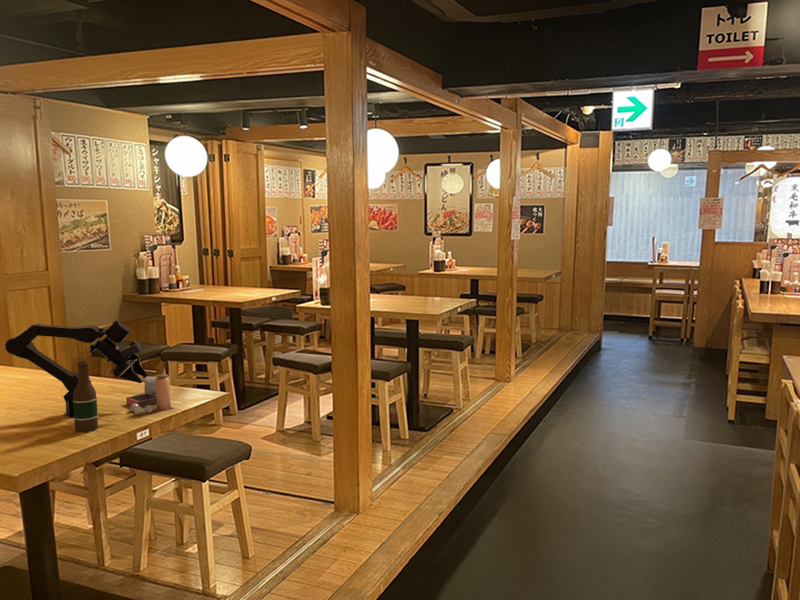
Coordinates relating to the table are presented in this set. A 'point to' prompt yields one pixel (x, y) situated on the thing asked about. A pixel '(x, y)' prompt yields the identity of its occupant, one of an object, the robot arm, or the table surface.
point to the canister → (163, 392)
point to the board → (149, 413)
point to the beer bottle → (84, 401)
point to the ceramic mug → (150, 385)
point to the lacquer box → (142, 400)
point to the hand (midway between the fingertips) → (144, 379)
